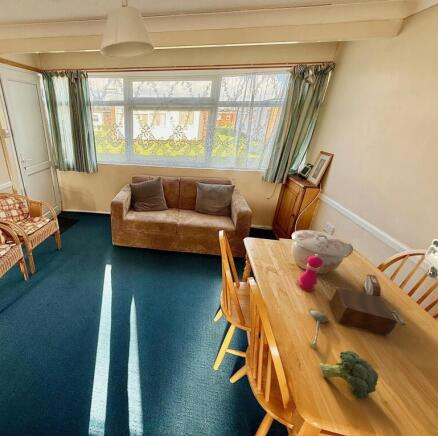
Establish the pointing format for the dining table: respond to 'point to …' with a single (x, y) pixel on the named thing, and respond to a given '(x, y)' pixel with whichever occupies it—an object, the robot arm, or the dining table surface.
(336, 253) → the chamber pot
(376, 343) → the dining table surface
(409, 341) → the dining table surface
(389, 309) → the drawer
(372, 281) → the tin
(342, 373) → the vegetable
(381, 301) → the cabinet
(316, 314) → the soupspoon
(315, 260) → the pepper mill
